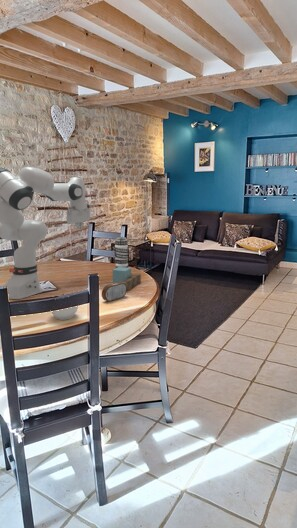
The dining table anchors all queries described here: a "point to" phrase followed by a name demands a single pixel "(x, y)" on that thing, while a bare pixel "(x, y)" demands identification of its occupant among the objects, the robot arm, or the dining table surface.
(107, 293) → the oval wooden speaker
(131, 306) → the dining table surface
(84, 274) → the dining table surface
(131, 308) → the dining table surface
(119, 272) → the slate block
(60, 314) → the lidded bowl
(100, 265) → the dining table surface
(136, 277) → the walnut board
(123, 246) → the decorative candle
